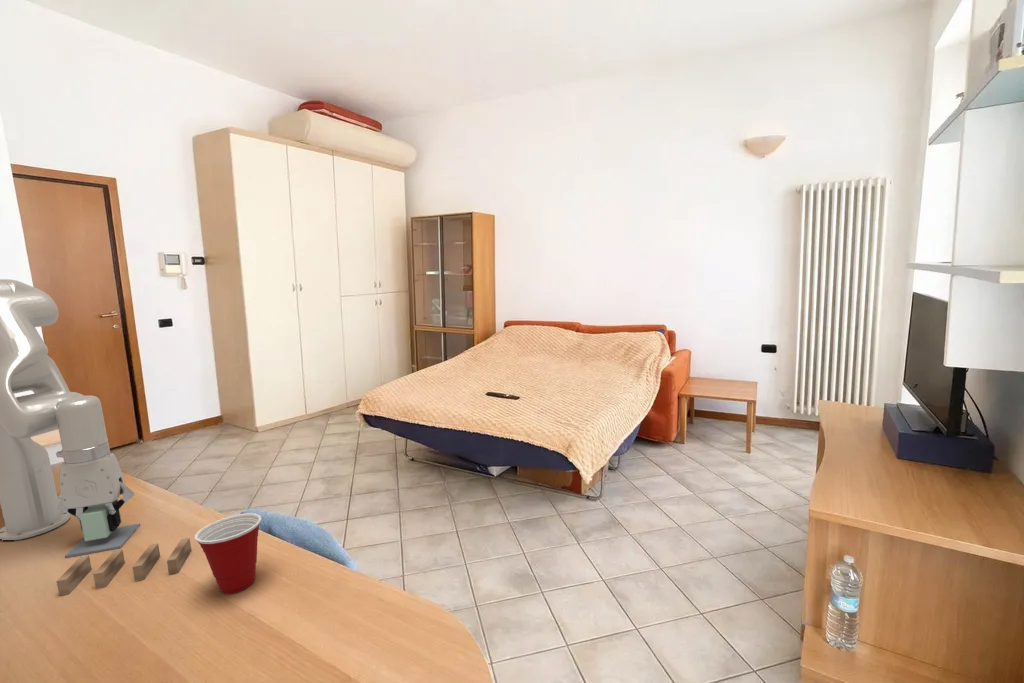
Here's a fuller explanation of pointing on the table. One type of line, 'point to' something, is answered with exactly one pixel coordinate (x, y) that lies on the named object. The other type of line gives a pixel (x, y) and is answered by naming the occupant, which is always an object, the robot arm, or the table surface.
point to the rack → (117, 561)
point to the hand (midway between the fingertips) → (102, 529)
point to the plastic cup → (231, 550)
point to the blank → (95, 522)
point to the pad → (104, 542)
